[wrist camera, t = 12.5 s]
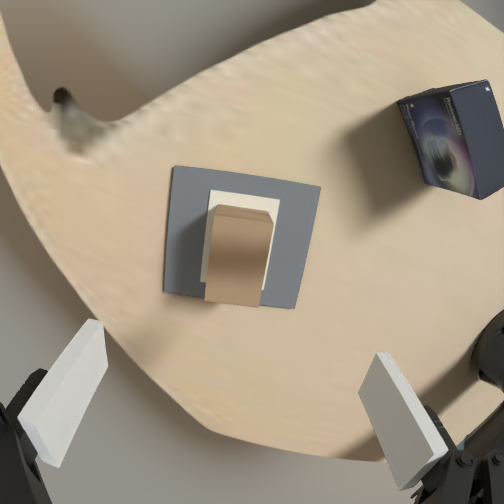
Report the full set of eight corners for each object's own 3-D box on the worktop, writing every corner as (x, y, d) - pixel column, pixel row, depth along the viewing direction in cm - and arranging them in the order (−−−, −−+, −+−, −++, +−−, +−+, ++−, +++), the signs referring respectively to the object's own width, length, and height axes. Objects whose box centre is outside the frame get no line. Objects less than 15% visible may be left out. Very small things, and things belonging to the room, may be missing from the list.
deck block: (255, 283, 33) (258, 307, 28) (209, 277, 33) (204, 300, 27) (267, 211, 31) (273, 223, 25) (218, 204, 30) (214, 215, 25)
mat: (319, 186, 31) (321, 187, 30) (293, 306, 35) (294, 309, 34) (175, 165, 29) (174, 165, 29) (165, 290, 34) (163, 292, 33)
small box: (392, 101, 28) (447, 88, 18) (432, 88, 27) (489, 76, 17) (423, 186, 31) (480, 203, 21) (459, 168, 30) (517, 180, 20)
